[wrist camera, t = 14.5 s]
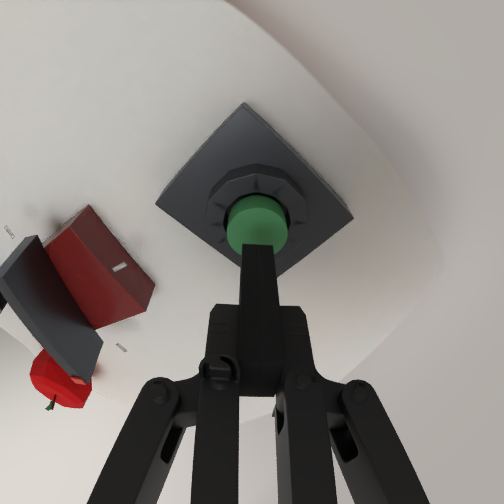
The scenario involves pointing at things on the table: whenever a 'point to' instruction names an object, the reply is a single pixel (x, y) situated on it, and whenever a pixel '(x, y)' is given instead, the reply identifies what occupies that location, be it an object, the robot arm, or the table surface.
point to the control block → (253, 188)
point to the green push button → (257, 223)
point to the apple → (57, 383)
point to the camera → (2, 302)
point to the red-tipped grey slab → (49, 309)
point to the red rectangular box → (97, 270)
